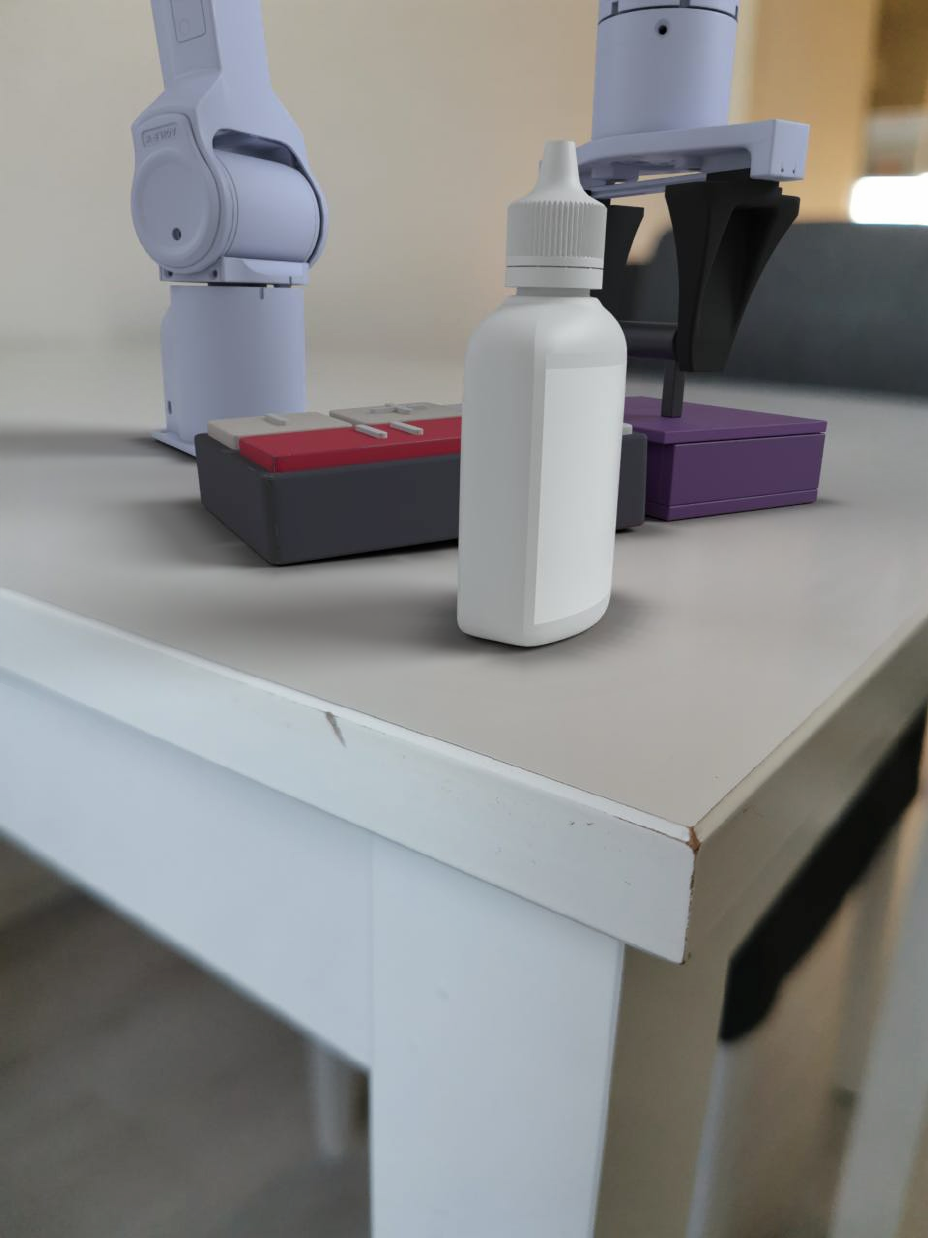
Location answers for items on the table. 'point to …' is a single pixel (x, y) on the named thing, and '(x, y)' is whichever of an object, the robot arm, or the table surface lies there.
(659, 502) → the purple box
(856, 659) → the table surface
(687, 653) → the table surface
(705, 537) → the table surface
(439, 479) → the grey and red box
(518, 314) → the eye dropper bottle
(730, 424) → the purple lid
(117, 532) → the table surface
